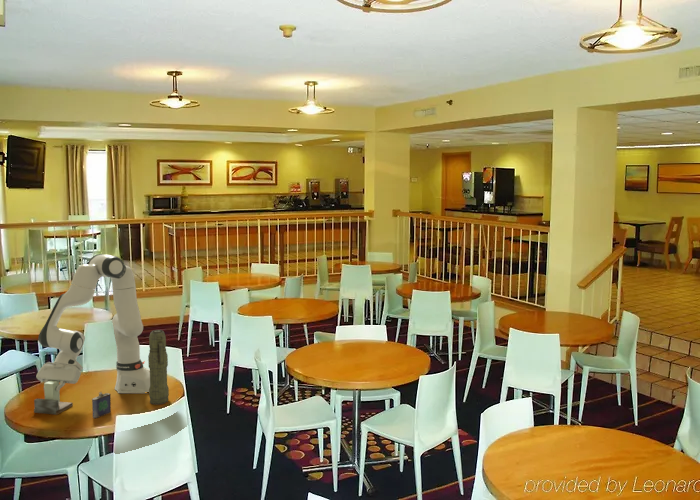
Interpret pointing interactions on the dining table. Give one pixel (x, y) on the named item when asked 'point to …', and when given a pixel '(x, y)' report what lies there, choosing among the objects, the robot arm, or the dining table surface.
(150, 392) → the stone statue
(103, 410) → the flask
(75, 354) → the robot arm
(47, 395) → the cabinet block
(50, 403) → the display stand
